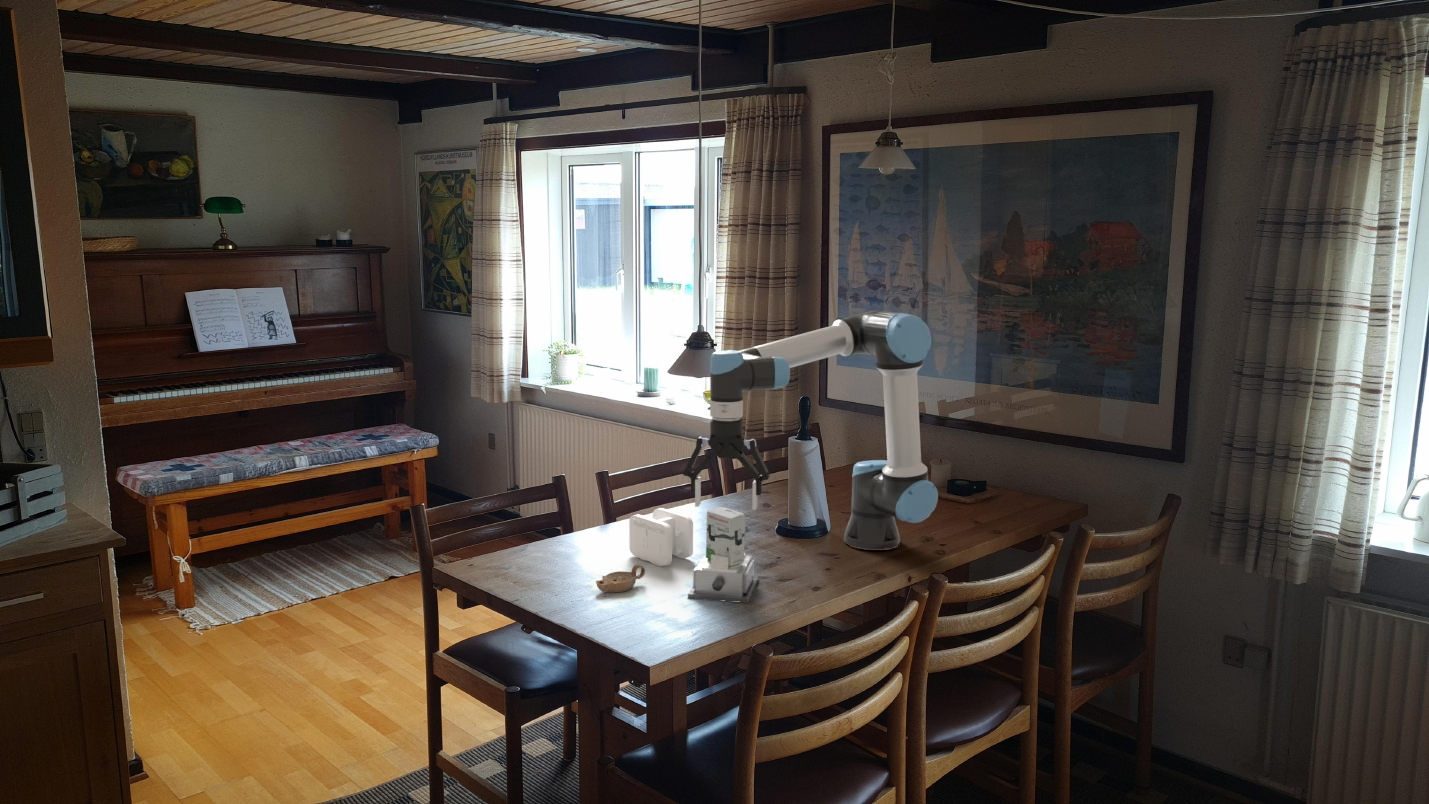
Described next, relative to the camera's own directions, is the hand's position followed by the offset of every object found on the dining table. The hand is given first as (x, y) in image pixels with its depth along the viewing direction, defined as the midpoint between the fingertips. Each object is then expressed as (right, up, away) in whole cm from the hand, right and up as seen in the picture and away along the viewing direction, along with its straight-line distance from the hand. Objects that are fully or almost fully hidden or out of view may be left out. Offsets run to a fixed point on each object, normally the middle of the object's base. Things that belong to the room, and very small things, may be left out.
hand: (726, 506), depth 231 cm
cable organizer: (-17, -16, +25) cm, 34 cm away
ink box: (0, -13, +2) cm, 13 cm away
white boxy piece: (0, -20, +3) cm, 20 cm away
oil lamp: (-25, -20, +3) cm, 32 cm away
